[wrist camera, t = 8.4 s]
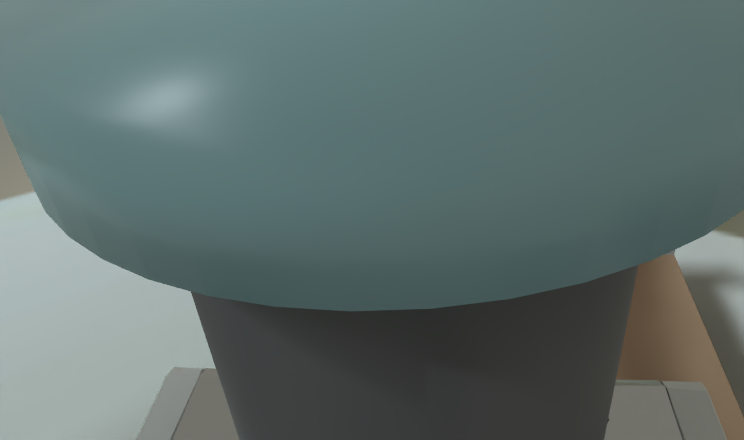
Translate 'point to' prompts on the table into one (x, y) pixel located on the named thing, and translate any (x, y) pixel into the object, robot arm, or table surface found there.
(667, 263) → the shelf block
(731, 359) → the table surface
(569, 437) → the cord spool
